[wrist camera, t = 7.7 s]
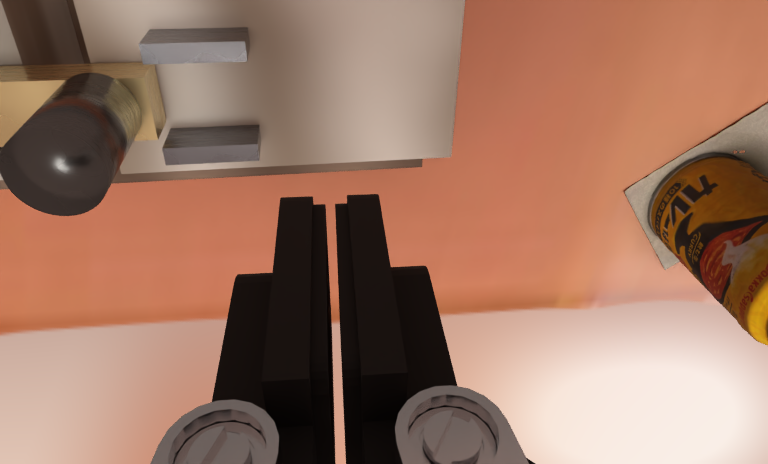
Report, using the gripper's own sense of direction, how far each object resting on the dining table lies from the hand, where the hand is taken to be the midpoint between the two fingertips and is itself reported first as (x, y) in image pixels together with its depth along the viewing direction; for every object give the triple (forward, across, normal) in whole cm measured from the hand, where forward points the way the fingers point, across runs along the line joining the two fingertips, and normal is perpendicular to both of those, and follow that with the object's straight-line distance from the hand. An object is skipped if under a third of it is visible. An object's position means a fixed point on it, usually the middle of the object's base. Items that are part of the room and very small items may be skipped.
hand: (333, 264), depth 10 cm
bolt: (+10, +9, +1) cm, 14 cm away
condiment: (+18, -22, +10) cm, 30 cm away
